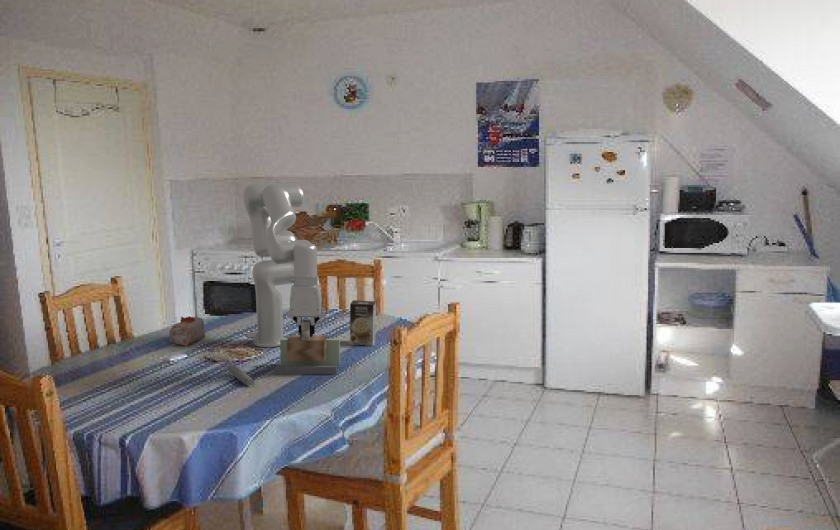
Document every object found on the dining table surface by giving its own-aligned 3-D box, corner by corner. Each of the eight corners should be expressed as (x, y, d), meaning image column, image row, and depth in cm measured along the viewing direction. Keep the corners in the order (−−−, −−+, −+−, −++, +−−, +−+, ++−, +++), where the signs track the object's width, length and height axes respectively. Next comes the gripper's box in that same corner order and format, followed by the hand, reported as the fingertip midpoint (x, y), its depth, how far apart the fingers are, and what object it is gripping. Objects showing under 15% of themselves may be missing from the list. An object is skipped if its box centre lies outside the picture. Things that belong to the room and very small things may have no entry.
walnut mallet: (287, 361, 218) (286, 322, 216) (291, 355, 225) (290, 317, 222) (324, 361, 218) (323, 322, 216) (326, 355, 225) (326, 318, 222)
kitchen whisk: (244, 391, 203) (243, 371, 202) (203, 363, 229) (202, 346, 228) (262, 387, 207) (262, 367, 206) (220, 360, 233) (219, 343, 232)
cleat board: (275, 374, 218) (274, 347, 216) (281, 363, 228) (280, 338, 226) (336, 374, 218) (336, 347, 216) (340, 364, 228) (339, 338, 227)
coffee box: (349, 345, 250) (348, 303, 247) (352, 340, 256) (352, 300, 253) (373, 346, 249) (373, 304, 246) (376, 341, 255) (376, 300, 253)
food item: (187, 347, 246) (186, 322, 244) (168, 346, 248) (166, 320, 246) (207, 337, 259) (206, 313, 257) (189, 336, 261) (187, 312, 259)
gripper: (278, 283, 213) (280, 339, 216) (329, 284, 213) (329, 339, 216) (283, 278, 220) (284, 332, 223) (331, 279, 220) (332, 333, 224)
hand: (306, 335), depth 220 cm, fingers closed on walnut mallet, 2 cm apart
